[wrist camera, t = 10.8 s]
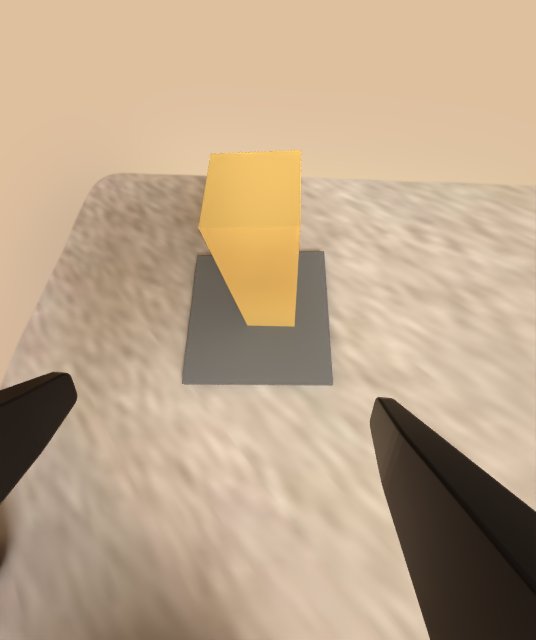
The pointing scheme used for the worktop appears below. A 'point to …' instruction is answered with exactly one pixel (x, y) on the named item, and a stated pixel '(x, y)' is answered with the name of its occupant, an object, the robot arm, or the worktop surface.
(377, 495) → the worktop surface
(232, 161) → the ochre post
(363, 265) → the worktop surface
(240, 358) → the charcoal mat
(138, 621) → the worktop surface
